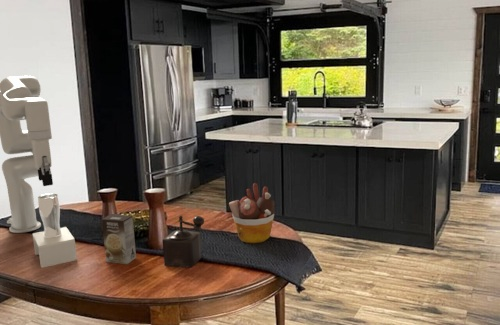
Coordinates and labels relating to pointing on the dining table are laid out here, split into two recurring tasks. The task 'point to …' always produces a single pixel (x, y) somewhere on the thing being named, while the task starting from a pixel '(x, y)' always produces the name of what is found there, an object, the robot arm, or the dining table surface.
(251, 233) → the bucket of meat
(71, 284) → the dining table surface
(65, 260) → the white block
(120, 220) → the coffee box
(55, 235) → the beer glass
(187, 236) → the manual coffee grinder
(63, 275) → the dining table surface
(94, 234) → the dining table surface
